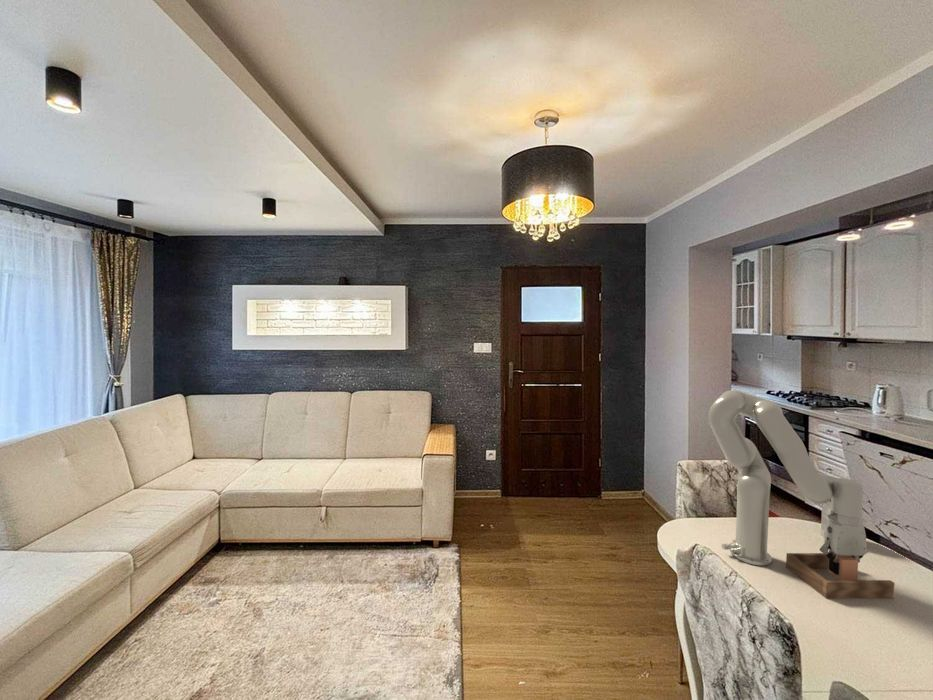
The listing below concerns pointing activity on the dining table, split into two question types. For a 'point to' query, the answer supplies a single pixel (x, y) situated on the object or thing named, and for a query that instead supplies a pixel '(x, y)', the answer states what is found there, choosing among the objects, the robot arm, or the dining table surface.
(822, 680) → the dining table surface
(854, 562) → the terracotta block
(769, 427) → the robot arm
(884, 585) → the brown wooden u-shaped block
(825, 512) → the coffee box
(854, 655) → the dining table surface
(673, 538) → the dining table surface
